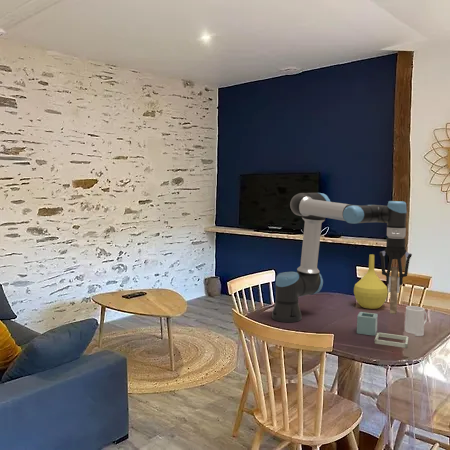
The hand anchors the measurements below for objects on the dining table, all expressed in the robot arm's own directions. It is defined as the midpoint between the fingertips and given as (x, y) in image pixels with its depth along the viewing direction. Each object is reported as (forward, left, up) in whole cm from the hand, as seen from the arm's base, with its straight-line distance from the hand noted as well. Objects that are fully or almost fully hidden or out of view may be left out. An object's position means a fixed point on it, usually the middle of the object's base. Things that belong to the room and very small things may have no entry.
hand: (393, 291), depth 198 cm
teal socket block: (-12, +9, -23) cm, 27 cm away
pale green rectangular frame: (0, 0, -23) cm, 23 cm away
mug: (+9, +21, -23) cm, 33 cm away
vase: (-17, +60, -23) cm, 67 cm away
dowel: (0, 0, -10) cm, 10 cm away
